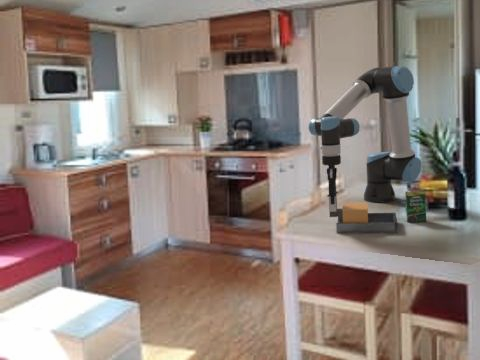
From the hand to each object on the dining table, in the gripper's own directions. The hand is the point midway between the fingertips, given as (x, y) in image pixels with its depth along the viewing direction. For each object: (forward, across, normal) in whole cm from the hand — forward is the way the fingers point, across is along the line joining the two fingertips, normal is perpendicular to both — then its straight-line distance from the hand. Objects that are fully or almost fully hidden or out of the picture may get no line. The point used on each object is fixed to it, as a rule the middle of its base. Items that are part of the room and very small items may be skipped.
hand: (333, 210), depth 235 cm
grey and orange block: (+6, 0, +6) cm, 9 cm away
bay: (+8, 0, +14) cm, 15 cm away
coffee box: (+8, -8, +34) cm, 36 cm away
